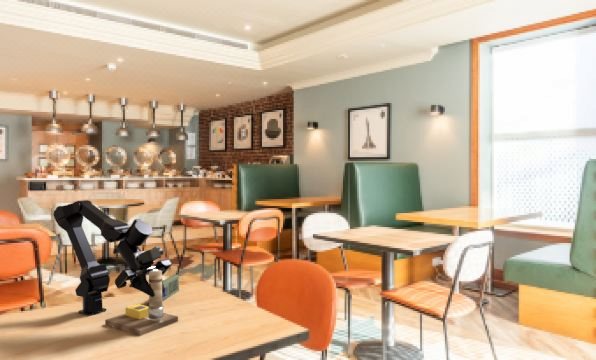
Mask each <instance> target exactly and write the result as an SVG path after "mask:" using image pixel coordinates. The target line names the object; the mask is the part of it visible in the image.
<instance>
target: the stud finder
mask: <svg viewBox="0 0 596 360" xmlns="http://www.w3.org/2000/svg"><path fill="white" fill-rule="evenodd" d="M124 309H125V310H124V311H125V313H126V316H130V317H133V318H137V319H142V318H145V317H148V306H144V304H139V303H135V304H132V305H130V306H126V307H125V308H124ZM125 313H124V314H125Z"/></svg>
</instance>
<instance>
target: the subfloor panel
mask: <svg viewBox="0 0 596 360" xmlns="http://www.w3.org/2000/svg"><path fill="white" fill-rule="evenodd" d="M178 321H179V316H177V315H174V314H173V315H172V314H168V313H166V312H163V317H162V318H159V319H149V318H148V317H145V318H142V319H137V318H133V317H130V316H126V313H122V314H119V315H116V316H113V317H109V318H106V319H104V324H105V325H106V326H109V327H112V328H114V329H118V330H121V331H124V332H128V333H131V334H134V335H137V336H143V335H146V334H148V333H151V332H154V331H156V330H159V329H162V328H165V327H167V326H169V325H173V324H175V323H177V322H178Z"/></svg>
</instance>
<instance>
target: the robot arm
mask: <svg viewBox="0 0 596 360" xmlns="http://www.w3.org/2000/svg"><path fill="white" fill-rule="evenodd" d="M52 216H53V217H54V220H55V222H56V224H57V225H58V227H60V228H61V229H63V230H64V231H65V232H66V234H67V236H68V238H69V241H70V244H71V246H72V249H73V250H74V254H75V256H76V258H77V260H78V261H77V262H78V263H79V266H80V268H81V270H80V274H79V280H80V282H79V284H78V285H77V287H76V288H75V290H74V291H75V295H76V296H77V297H80V298H82V309H80V310H77V311H78V313H79V314H83V315H86V316H92V315H96V314H98V313H102V312H106V311H107V308H105V307H103V293H104V292H108V289H109V285H110V281H111V278H110V272H109V271H108V268H107V266H106V264H105V263H101V264H100V263H98V261H97V260H96V257H95V255H94V252H93V250H92V247H91V245H90V243H89V240H88V238H87V236H86V233H85V231H84V227H83V223H84V218H85V220H87V221H89V222H90V223H92V225H94V226H95V227H97V228H98V229H99V230H100V235H101V236H102V237H103V238H104V239H105V241H106V242H108V243H110V244H111V243H116V242H118V243H117V244H116V245H114V247H113V251H112V252H113V253H112V254H113V255H116V254H120V256H121V258H122V259H123V261H124V262H125V263H124V264H123V266H124V267H125V268H128V269H123V270H121V271H120V273H119V274H118V276H117V277H116V278H115V280H114V284H115V286H116V288H117V289H118V290H119V289H121V288H126V287H127V284H128V282H127V281H129V283H130V284H129V285H128V287H129V288H133V289H135V290H138V291H140V292H142V293H144V294H146V295H147V296H148V297H149V296H151V297H154V296H155V293H154V291H153V290H152V288H151V286H150V285H149V280H147V276H149V271H153V270H161V271H162V276H163V275H165V274H166V272H167V271H168V270H169V269H170V268H171V267H172V265H173V264H172V262H171V260H170V259H163V260H162V259H161V258H162V256H163V255H164V250H163V248H162V247H161V246H160V245H155V246H154V247H152V248H151V249H148V250H141V248H140V247H141V246H143V245H144V243H146V241H147V239H148V238H149V237H150V236H151V234H152V233H153V227H152V225H151V224H149V223H147V222H145V221H143V220H141V218H135V219H134V220H133V221H132V223H131V225H129V224H128V223H127V222H124V221H122V220H119V219H117V218H116V219H115V218H112V217H111V216H109V215H108V214H106V213H105V212H104V211H102V210H101V209H100V208H98V207H97V206H96V205H94V204H93V202H92V201H91V200H88V199H86V200H76V201H74V202H72V203H68V204H66V205H58V206H57V207H56V208H55V210H53V215H52ZM157 259H161V260H158V261H157V262H155V261H156V260H157ZM154 263H155V264H154ZM152 265H153V266H152ZM164 292H165V289H164V285H163V280H162V294H163V293H164Z"/></svg>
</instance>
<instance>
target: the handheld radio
mask: <svg viewBox="0 0 596 360" xmlns="http://www.w3.org/2000/svg"><path fill="white" fill-rule="evenodd" d="M179 279H180V278H179V274H172V275H170V276H169V277H167V278H165V279H164V280H163V279H162V281H163V285H164V289H165V292H164V293H163V294H162V302H164V301H165V300H167V299H168V298H170V297H171V296H173V295H176V293H178V292H179V291H180V284H179V283H180V281H179ZM143 305H144V304H143ZM144 306H148V307H149V302H148V303H147V304H145V305H144Z"/></svg>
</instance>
